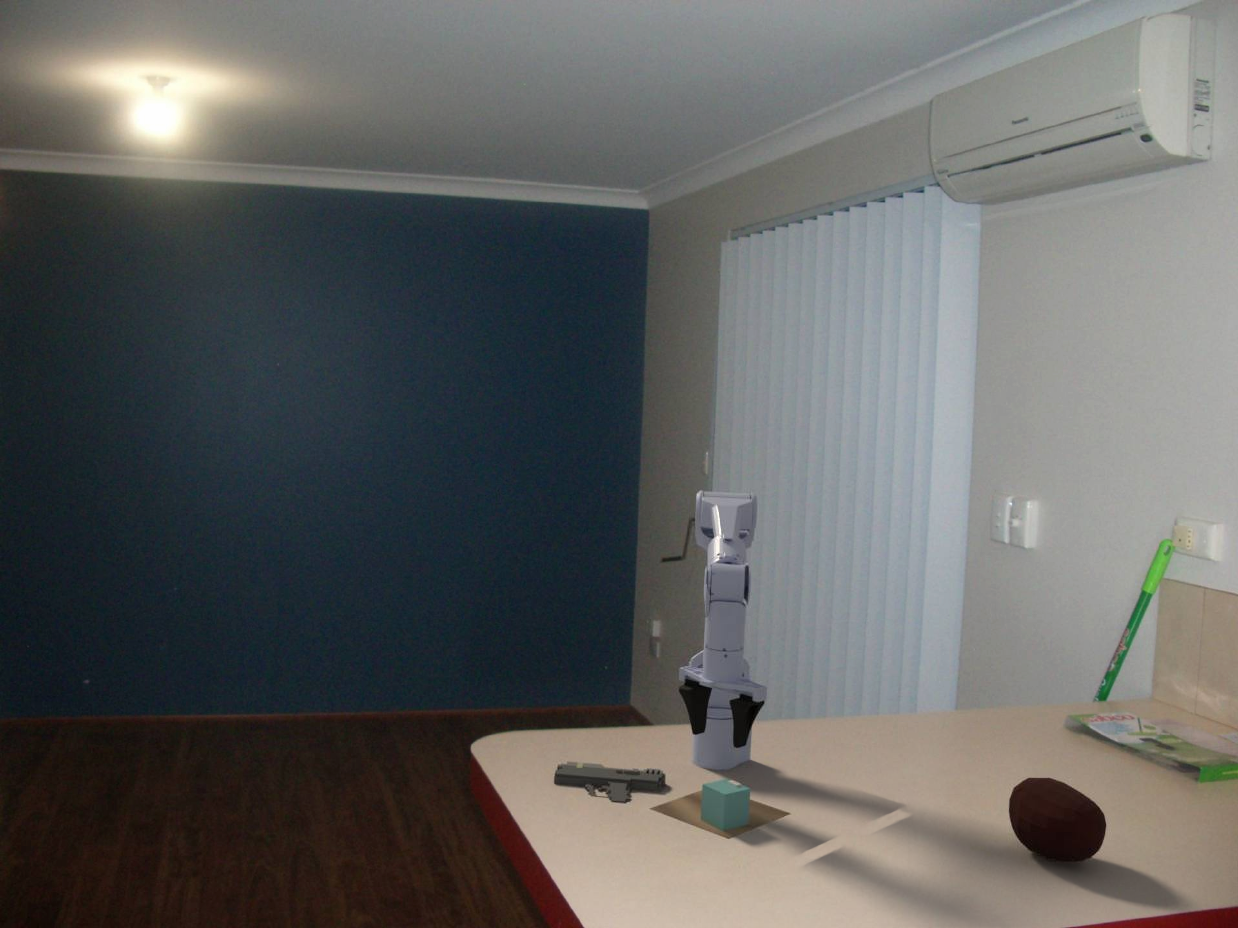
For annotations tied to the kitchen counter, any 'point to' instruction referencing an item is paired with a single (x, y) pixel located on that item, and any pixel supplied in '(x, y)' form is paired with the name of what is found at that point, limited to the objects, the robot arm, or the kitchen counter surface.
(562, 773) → the toy gun
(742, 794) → the teal cube
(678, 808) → the board
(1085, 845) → the potato
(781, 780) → the kitchen counter surface
